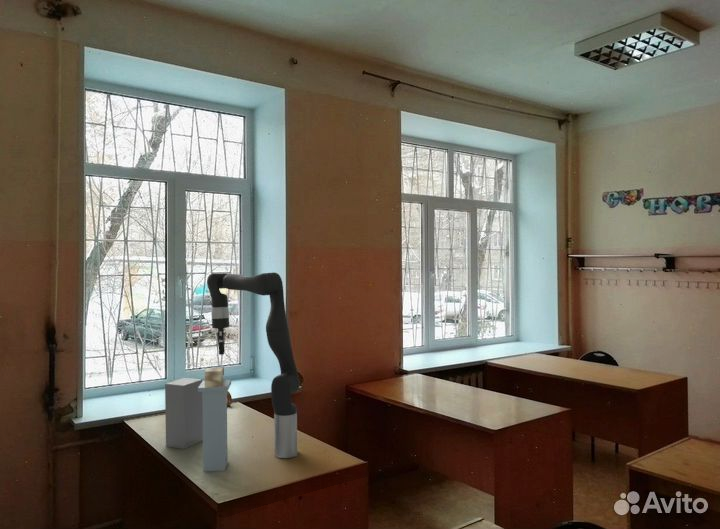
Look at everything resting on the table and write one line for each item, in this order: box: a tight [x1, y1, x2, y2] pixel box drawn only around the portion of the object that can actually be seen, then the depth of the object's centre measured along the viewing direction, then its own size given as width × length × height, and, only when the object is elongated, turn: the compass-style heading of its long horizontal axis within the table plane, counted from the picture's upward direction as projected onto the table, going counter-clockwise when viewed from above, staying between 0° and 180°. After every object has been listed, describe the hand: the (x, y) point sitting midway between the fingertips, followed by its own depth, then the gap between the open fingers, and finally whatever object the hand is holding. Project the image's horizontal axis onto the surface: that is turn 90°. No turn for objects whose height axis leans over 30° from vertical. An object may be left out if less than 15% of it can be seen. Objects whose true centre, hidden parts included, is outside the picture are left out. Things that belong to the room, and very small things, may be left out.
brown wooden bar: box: [204, 366, 225, 388], centre depth 210 cm, size 6×22×6 cm, turn 8°
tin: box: [227, 390, 233, 407], centre depth 290 cm, size 15×3×8 cm, turn 47°
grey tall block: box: [164, 377, 203, 450], centre depth 230 cm, size 12×10×27 cm
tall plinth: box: [198, 379, 232, 472], centre depth 205 cm, size 11×12×32 cm
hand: (221, 353), depth 236 cm, fingers open, 8 cm apart
